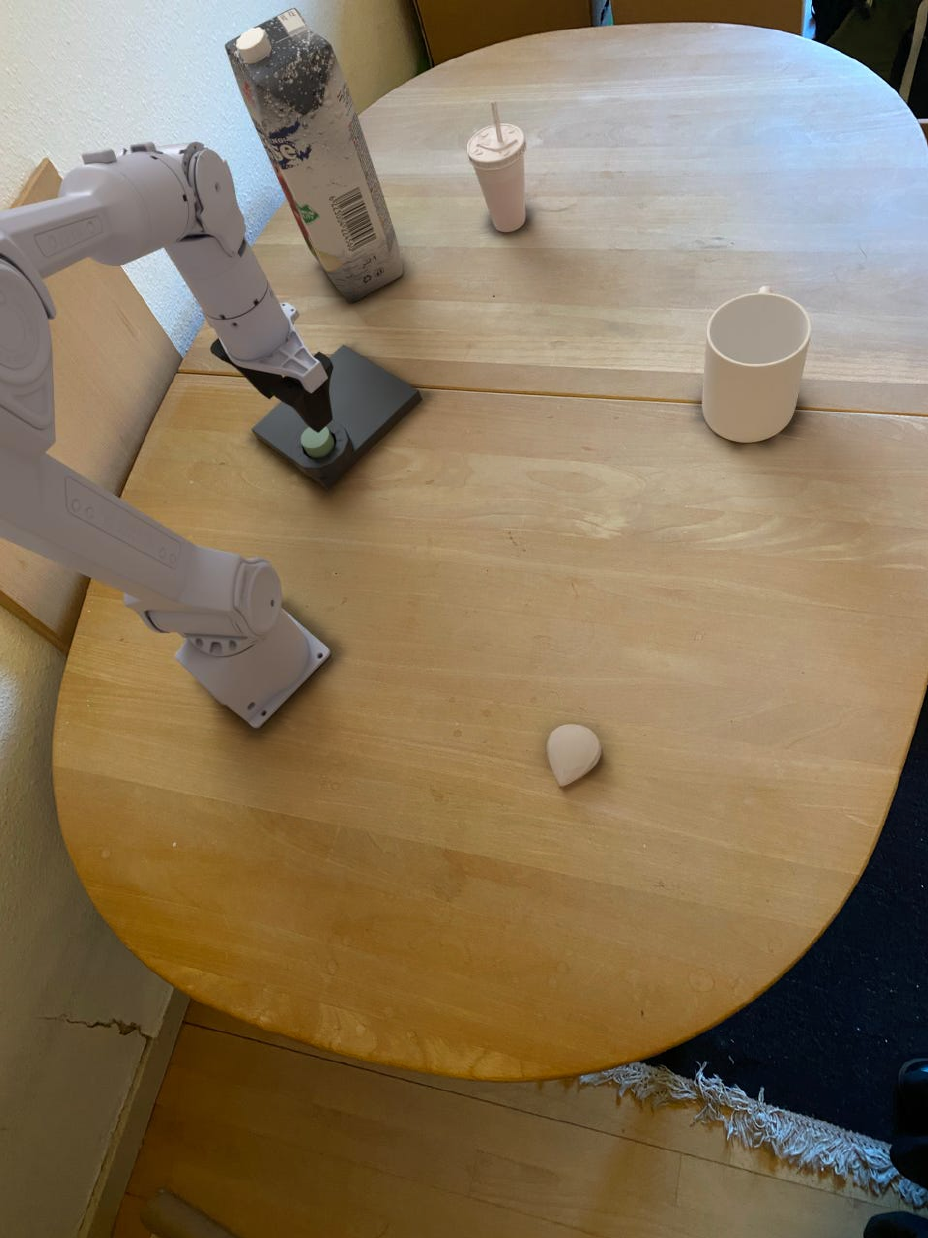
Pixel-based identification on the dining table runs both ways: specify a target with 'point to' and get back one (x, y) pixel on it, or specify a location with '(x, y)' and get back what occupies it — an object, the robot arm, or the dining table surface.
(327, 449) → the button
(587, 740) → the beige rounded teardrop
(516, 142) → the smoothie
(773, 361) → the cup
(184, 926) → the dining table surface
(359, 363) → the scale
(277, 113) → the juice carton
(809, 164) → the dining table surface
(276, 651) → the robot arm
